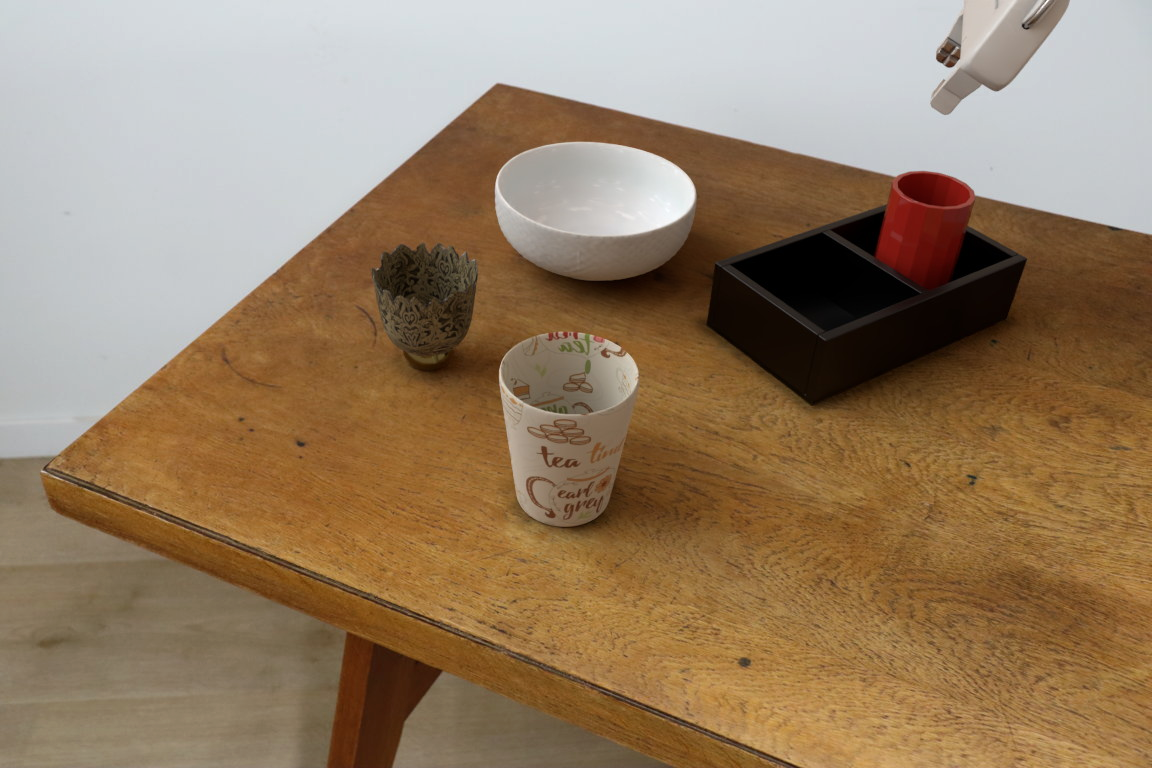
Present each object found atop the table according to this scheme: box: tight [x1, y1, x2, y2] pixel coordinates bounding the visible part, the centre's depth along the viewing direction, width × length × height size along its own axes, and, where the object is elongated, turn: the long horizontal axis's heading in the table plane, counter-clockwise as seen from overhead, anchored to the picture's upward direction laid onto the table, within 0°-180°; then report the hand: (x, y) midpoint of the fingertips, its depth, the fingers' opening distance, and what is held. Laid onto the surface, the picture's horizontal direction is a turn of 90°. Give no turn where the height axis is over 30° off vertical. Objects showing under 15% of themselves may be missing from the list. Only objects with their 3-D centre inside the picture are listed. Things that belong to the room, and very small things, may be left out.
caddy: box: [706, 203, 1028, 406], centre depth 87 cm, size 22×12×6 cm, turn 124°
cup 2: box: [874, 170, 976, 291], centre depth 88 cm, size 6×6×10 cm
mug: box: [498, 331, 640, 528], centre depth 70 cm, size 8×13×10 cm, turn 166°
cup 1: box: [370, 242, 479, 371], centre depth 80 cm, size 8×7×8 cm
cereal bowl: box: [494, 141, 698, 282], centre depth 93 cm, size 17×17×7 cm
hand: (940, 83), depth 88 cm, fingers open, 8 cm apart
